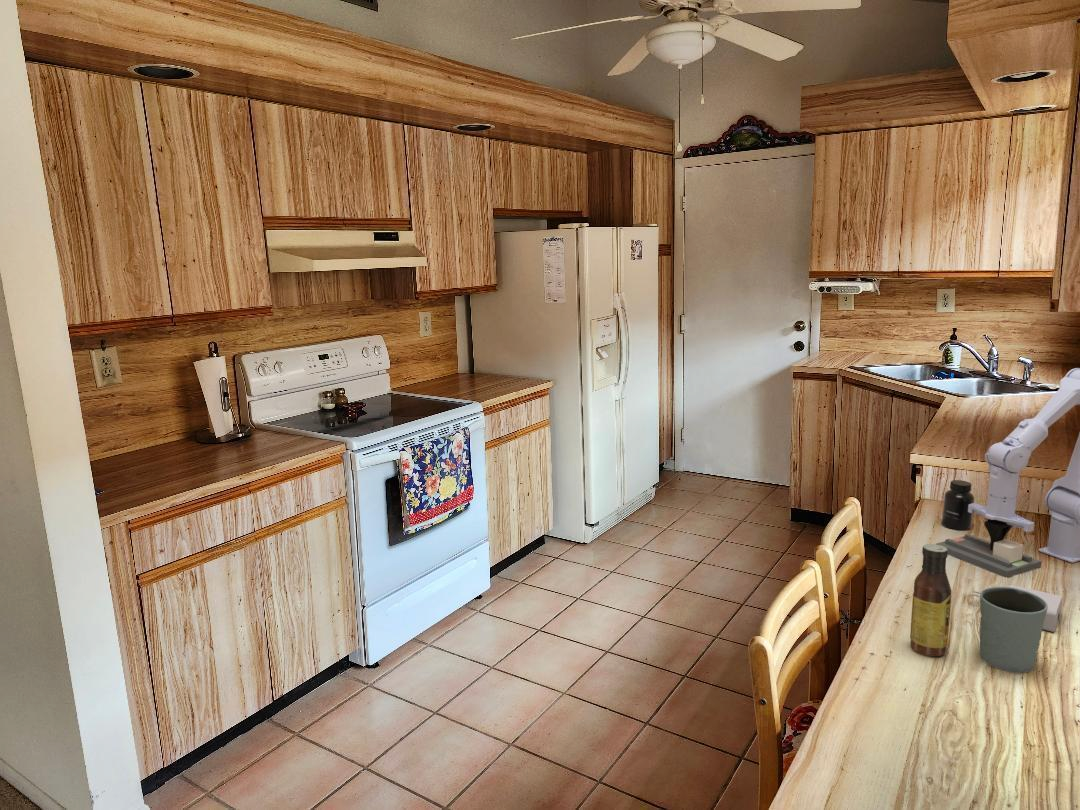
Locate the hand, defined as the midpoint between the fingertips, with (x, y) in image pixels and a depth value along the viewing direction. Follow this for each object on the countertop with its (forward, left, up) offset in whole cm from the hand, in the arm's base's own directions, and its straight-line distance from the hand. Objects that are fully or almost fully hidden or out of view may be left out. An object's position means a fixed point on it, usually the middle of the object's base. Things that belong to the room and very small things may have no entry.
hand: (996, 550), depth 176 cm
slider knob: (0, +3, -1) cm, 3 cm away
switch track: (0, -2, -3) cm, 3 cm away
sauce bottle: (+47, +20, -3) cm, 51 cm away
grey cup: (+38, +29, -3) cm, 48 cm away
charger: (+20, +18, -3) cm, 27 cm away
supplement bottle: (-12, -19, -3) cm, 23 cm away
